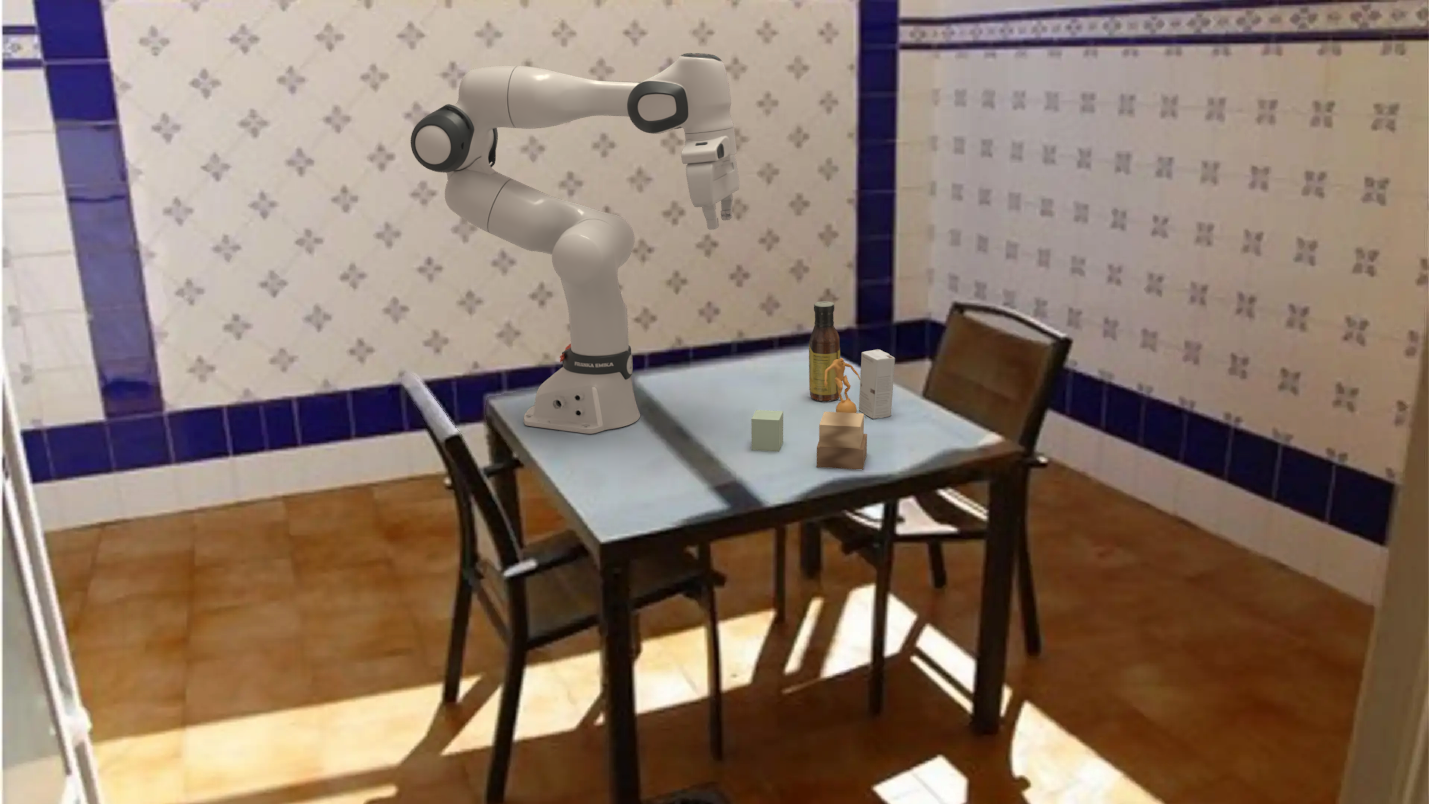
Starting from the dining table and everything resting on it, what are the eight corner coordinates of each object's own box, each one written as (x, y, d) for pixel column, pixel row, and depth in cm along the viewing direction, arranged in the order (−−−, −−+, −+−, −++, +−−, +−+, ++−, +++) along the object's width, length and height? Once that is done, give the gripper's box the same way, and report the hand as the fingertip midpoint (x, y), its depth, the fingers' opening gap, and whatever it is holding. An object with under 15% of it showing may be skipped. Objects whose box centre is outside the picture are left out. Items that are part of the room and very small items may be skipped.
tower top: (819, 446, 204) (819, 424, 203) (824, 432, 211) (824, 411, 210) (859, 448, 203) (860, 426, 202) (863, 434, 209) (864, 413, 208)
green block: (751, 450, 214) (751, 418, 212) (756, 440, 218) (756, 409, 217) (779, 451, 213) (779, 420, 211) (783, 442, 217) (783, 411, 216)
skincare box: (857, 410, 233) (858, 351, 230) (877, 407, 235) (879, 348, 231) (873, 419, 228) (875, 359, 224) (893, 416, 230) (895, 356, 226)
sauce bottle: (822, 391, 245) (823, 297, 239) (846, 397, 241) (848, 302, 235) (802, 398, 241) (802, 303, 235) (826, 405, 237) (827, 308, 231)
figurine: (834, 426, 225) (835, 366, 221) (816, 418, 230) (816, 358, 226) (869, 419, 229) (871, 359, 225) (850, 410, 234) (852, 351, 230)
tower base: (816, 468, 205) (816, 447, 204) (821, 452, 213) (822, 431, 212) (862, 471, 204) (863, 449, 203) (866, 454, 211) (867, 433, 210)
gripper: (710, 141, 221) (718, 215, 225) (677, 155, 202) (687, 235, 206) (742, 138, 219) (751, 213, 223) (713, 151, 200) (722, 233, 204)
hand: (720, 224), depth 215 cm, fingers open, 8 cm apart
